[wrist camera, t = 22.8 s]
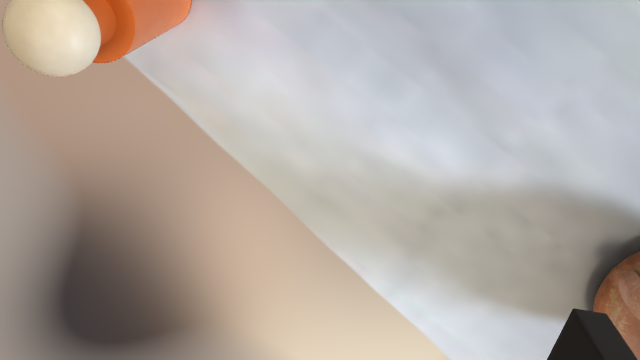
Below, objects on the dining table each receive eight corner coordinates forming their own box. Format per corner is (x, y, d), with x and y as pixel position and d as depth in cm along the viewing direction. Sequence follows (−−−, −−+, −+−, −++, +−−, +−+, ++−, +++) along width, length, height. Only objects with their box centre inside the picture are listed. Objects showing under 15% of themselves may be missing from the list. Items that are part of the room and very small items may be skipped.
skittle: (193, -35, 38) (80, -8, 22) (190, 32, 41) (88, 102, 24) (126, -47, 38) (-37, -28, 22) (128, 22, 40) (-18, 85, 24)
